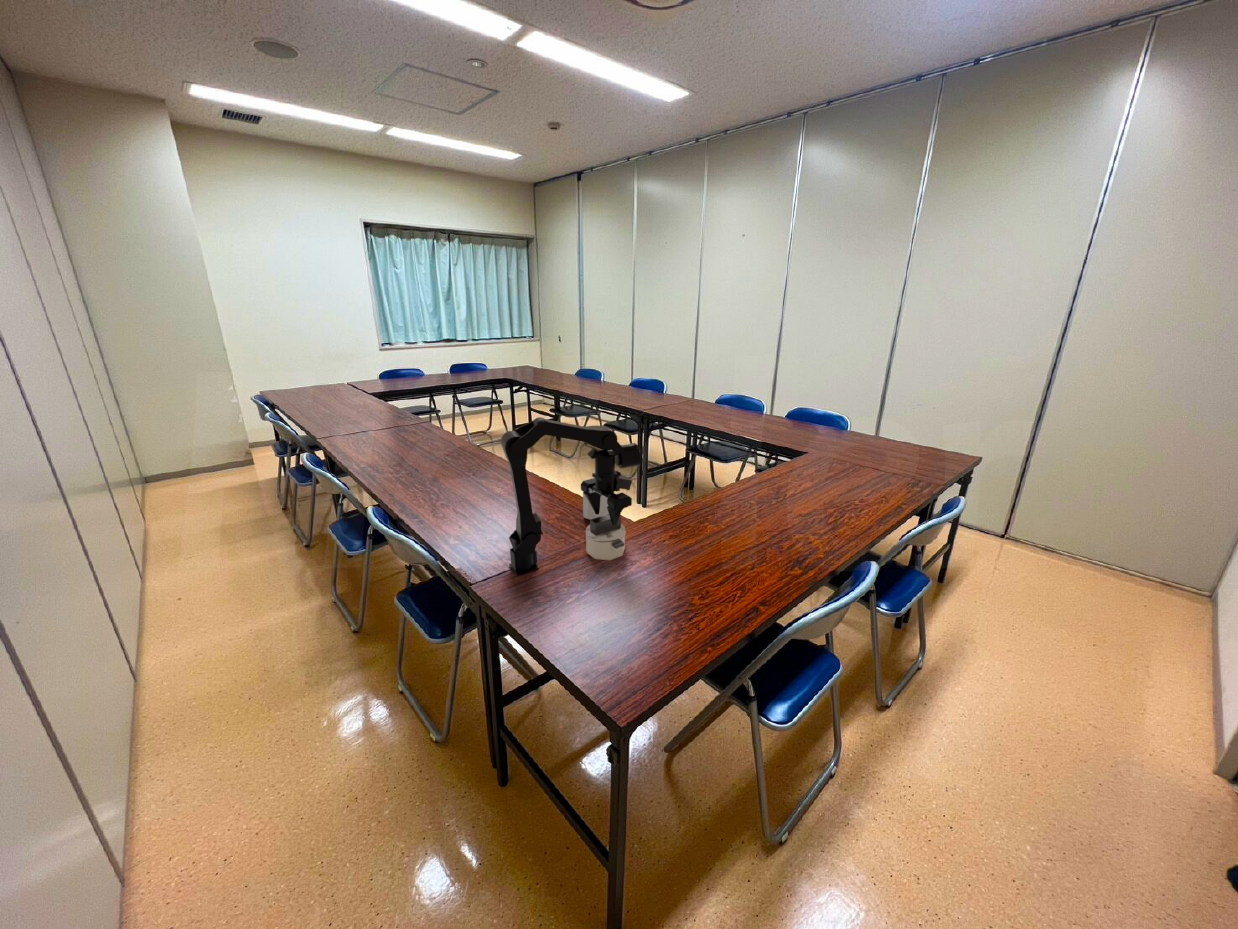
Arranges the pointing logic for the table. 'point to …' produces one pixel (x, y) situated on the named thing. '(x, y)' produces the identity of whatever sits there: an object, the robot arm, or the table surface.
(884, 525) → the table surface
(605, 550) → the cooker pot
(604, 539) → the cooker lid
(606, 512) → the photo printer
